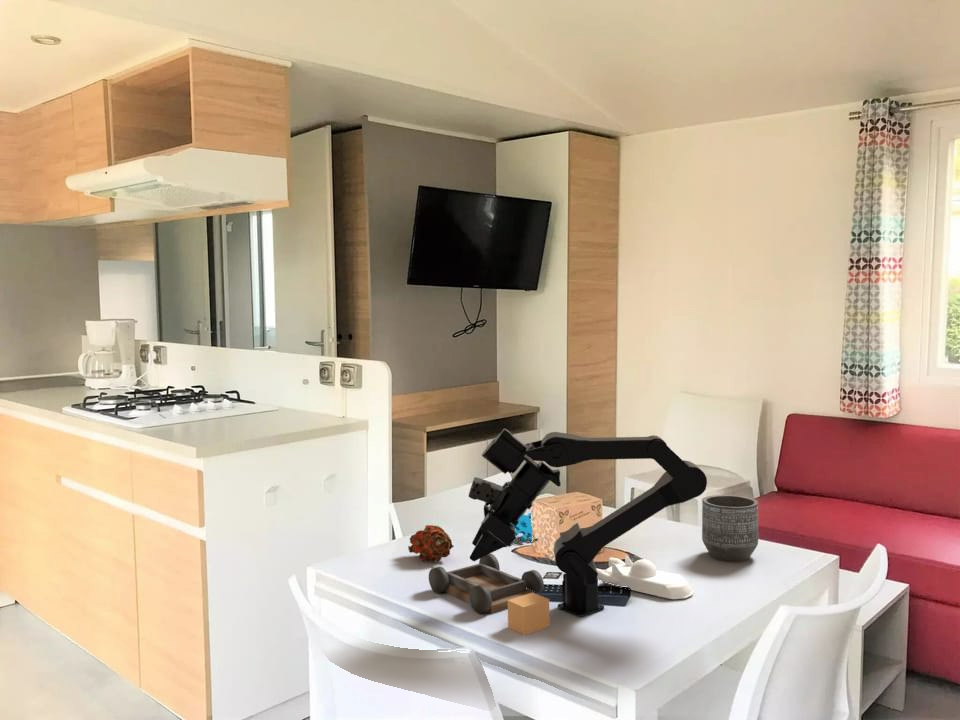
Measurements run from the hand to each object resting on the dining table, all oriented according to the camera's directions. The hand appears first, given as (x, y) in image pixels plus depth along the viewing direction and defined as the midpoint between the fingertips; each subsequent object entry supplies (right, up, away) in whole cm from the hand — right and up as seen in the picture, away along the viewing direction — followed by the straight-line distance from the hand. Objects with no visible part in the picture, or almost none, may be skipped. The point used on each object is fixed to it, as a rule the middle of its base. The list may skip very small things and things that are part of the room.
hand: (472, 552), depth 153 cm
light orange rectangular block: (+10, -12, -8) cm, 17 cm away
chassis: (+2, -10, +9) cm, 14 cm away
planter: (+58, -8, +30) cm, 66 cm away
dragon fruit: (-10, -9, +32) cm, 35 cm away
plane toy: (+35, -10, +11) cm, 38 cm away
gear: (+13, -8, +47) cm, 49 cm away
